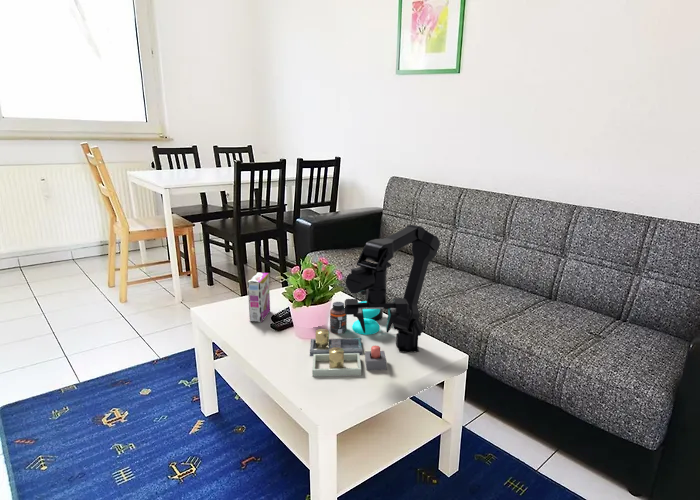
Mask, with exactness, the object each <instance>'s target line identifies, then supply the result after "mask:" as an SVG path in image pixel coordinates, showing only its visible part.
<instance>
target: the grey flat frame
mask: <svg viewBox="0 0 700 500" xmlns="http://www.w3.org/2000/svg"><path fill="white" fill-rule="evenodd" d="M334 347H339V348H342V349H343V350H344V353H359V355H360V356H363V347H362V338H361V337H353V338H350V337H349V338H347V337H346V338H345V337H344V338H329V349H316V338H311V339H310V348H309V357H313V354H329V350H330V349H331V348H334Z"/></svg>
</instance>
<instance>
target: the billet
mask: <svg viewBox="0 0 700 500" xmlns="http://www.w3.org/2000/svg"><path fill="white" fill-rule="evenodd" d="M328 362H329V367H328V369H335V368H345V364H344V363H345V360H344V350H343V349H342V348H339V347H334V348H331V349H330V350H329V361H328Z"/></svg>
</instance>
